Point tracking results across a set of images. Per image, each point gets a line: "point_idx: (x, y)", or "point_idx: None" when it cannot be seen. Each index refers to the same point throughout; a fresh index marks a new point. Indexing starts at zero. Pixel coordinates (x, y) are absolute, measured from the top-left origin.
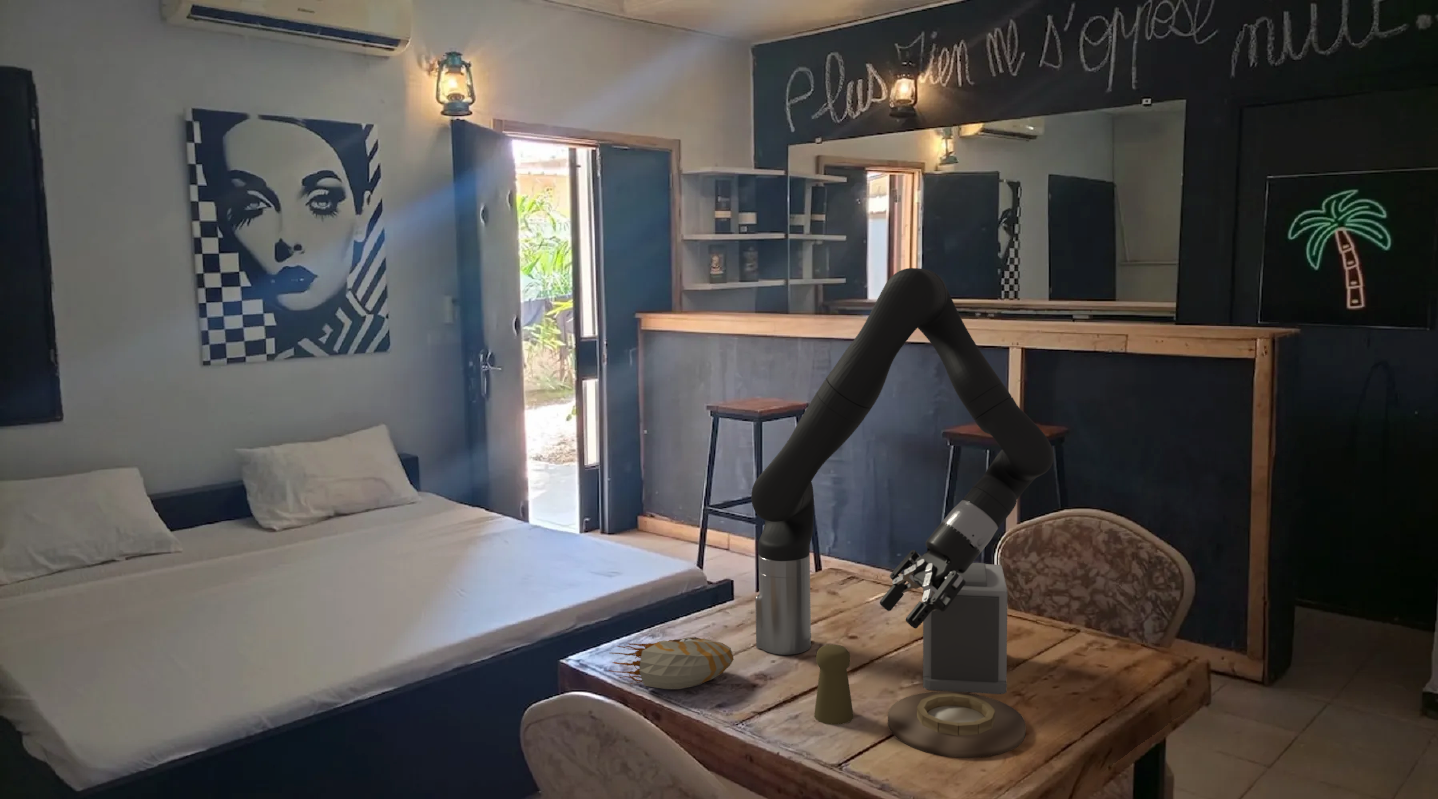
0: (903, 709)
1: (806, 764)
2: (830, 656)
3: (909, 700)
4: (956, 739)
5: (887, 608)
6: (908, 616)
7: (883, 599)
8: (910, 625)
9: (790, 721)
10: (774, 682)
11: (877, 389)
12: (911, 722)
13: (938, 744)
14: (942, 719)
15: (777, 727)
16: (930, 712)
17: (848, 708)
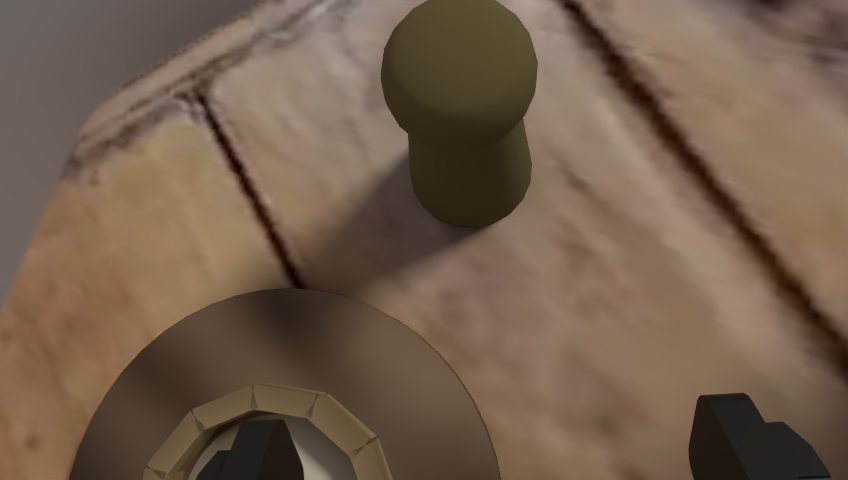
0: (393, 374)
1: (230, 27)
2: (396, 28)
3: (455, 429)
4: (147, 439)
5: (695, 448)
6: (251, 441)
7: (733, 423)
8: (296, 454)
9: None
10: (782, 62)
11: None
12: (297, 357)
13: (141, 369)
14: None
15: None
16: (337, 452)
17: (420, 188)
